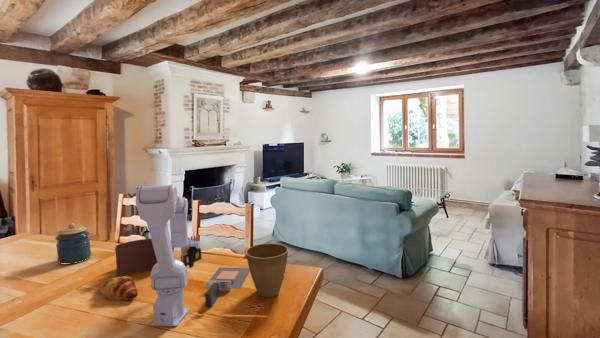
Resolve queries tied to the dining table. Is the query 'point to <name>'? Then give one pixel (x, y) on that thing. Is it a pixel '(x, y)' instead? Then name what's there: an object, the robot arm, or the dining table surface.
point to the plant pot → (267, 267)
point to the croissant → (119, 288)
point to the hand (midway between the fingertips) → (181, 266)
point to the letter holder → (135, 257)
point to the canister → (73, 244)
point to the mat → (238, 282)
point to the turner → (216, 291)
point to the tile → (228, 276)
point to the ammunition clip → (185, 256)
